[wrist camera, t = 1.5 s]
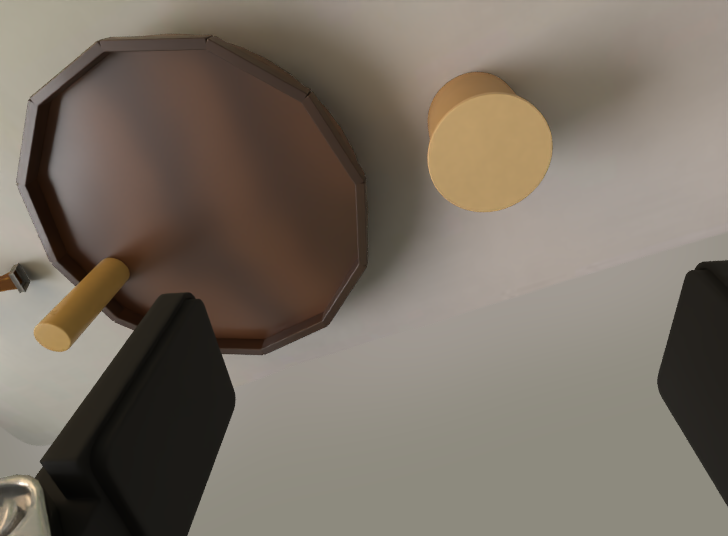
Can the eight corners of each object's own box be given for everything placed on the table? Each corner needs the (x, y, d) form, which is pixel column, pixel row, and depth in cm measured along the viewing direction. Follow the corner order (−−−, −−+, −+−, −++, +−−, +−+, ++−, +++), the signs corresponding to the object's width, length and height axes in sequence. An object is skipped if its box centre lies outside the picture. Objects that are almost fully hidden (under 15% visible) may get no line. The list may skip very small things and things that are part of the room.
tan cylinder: (498, 45, 28) (524, 67, 22) (538, 136, 31) (570, 178, 25) (405, 101, 30) (405, 135, 25) (449, 182, 33) (460, 230, 27)
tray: (225, -55, 25) (155, -61, 18) (426, 263, 34) (433, 343, 27) (-27, 155, 32) (-150, 210, 25) (196, 371, 42) (153, 457, 34)
